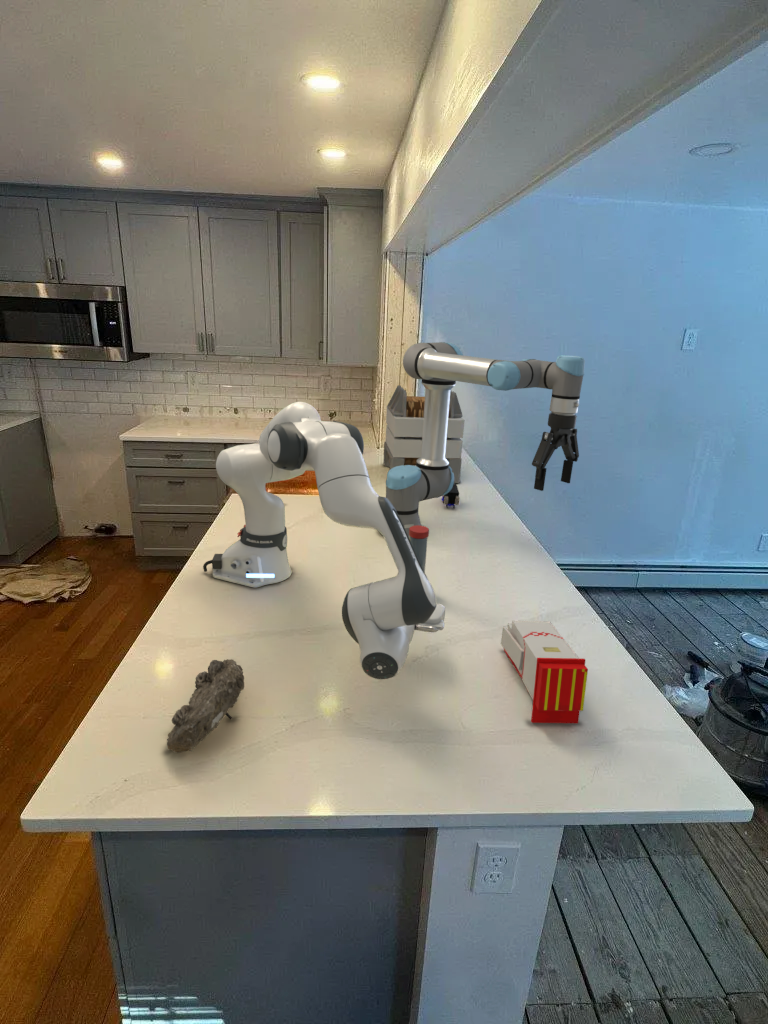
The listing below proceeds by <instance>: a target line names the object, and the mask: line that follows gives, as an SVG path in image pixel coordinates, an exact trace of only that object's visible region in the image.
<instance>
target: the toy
mask: <svg viewBox="0 0 768 1024" xmlns="http://www.w3.org/2000/svg"><path fill="white" fill-rule="evenodd" d="M500 645H501V646H502V648H503V652H504V654H505V655H506V657H507V658H508V660H509V661H510V663H511V664H512V666H513V668H514V669H515V671H516V672H517V674H518V676H519V677H520V679H521V680H522V683H523V685H524V686H525V688H526V690H527V692H528V694H529V696H530V697H531V699H532V708H531V719H530V722H531V723H532V724H579V719H580V712H583V711H584V706H585V697H586V689H587V680H588V671H589V669H588V667H587V666H586V659H585V658H580V657H579V656H578V655H577V654H576V652H575V651H574V650H573V648H572V647H571V646H570V645H569V644H568V642H567V641H566V640H565V638H564V637H563V636H562V634H561V633H560V632H559V631H558V630H557V628H556V627H555V626H554V624H553V623H552V622H551V621H549V620H548V621H545V620H540V621H539V620H511V622H508V623H507V626H502V632H501V638H500Z"/></svg>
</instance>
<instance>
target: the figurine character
mask: <svg viewBox="0 0 768 1024" xmlns="http://www.w3.org/2000/svg"><path fill="white" fill-rule="evenodd" d="M441 501H442V504H443V505H445V508H446V509H449V507H452V509H456V506H459V504H460V491H459V489H458V486H457V483H454V484H453V487H452V489H451V490H450V491H449V492H448V493H447V494H445V495H443V496H441Z"/></svg>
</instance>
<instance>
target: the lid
mask: <svg viewBox="0 0 768 1024" xmlns="http://www.w3.org/2000/svg"><path fill="white" fill-rule="evenodd" d="M409 536H411V537H413V538H417V539H423V538H427V537H428V538H429V536H430V529H429V528H428V526H424V525H422V526H419V525H416V526H411V527H410V528H409ZM428 538H427V539H428Z"/></svg>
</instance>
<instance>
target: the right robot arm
mask: <svg viewBox="0 0 768 1024" xmlns="http://www.w3.org/2000/svg"><path fill="white" fill-rule="evenodd" d="M585 365H586V360H585V358H584V357H582V356H578V355H566V354H565V355H564V354H563V355H558V356H557V357H556V360H555V361H549V360H541V359H536V358H524V359H521V360H506V359H505V360H504V359H503V360H502V359H496V358H487V357H479V356H471V355H464V354H463V352H462V350H461V349H460V347H459V346H457V345H456V344H455V343H451V342H445V341H443V342H442V341H441V342H440V341H439V342H438V341H437V342H417V343H414V344H412V345H411V346H409V347H408V348H407V350H406V351H405V353H404V355H403V358H402V366H403V369H404V372H405V373H406V374H407V375H408V376H409V377H411V378H412V379H415V380H421V385H422V386H423V387H424V389H425V392H424V397H425V404H424V419H423V434H422V449H421V457H420V458H418V459H417V461H416V466H413V465H401V466H396V467H394V468H392V469H390V468H389V470H388V472H387V474H386V479H385V497H386V498H387V499H388V500H389V501H390V502H391V503H392V505H393V506H394V508H395V510H396V512H397V513H398V516H399V518H400V520H401V522H402V524H403V526H404V528H405V530H406V533H407V535H408V537H409V540H410V536H409V528H410V527H411V526H416V525H419V526H423V525H422V524H421V518H420V515H419V507H420V506H419V505H420V502H423V501H427V500H431V499H437V498H440V497H441V498H442V496H443V495H445V494H447V493H448V492H449V491H450V490H451V489H452V487H453V484H454V473H452V469H451V467H450V466H449V462H448V461H447V459H446V458H445V453H446V441H447V428H448V416H449V404H450V392H451V391H452V389H453V388H454V387H455V386H456V384H457V382H461V383H465V384H473V385H479V386H487V387H491V388H492V389H494V390H496V391H503V392H504V391H511V390H520V389H532V388H533V389H534V388H539V389H546V390H551V398H550V404H549V413H548V418H547V419H548V420H547V426H548V427H549V428H550V431H549V432H548V431H543V432H542V435H541V440H540V442H539V445H538V447H537V449H536V452H535V454H534V457H533V460H532V461H531V466H533V467H535V475H534V477H535V478H534V485H533V489H534V490H537V491H539V492H543V491H544V489H545V484H546V483H545V482H546V476H547V468H546V466H547V465H548V463H549V461H550V459H551V457H552V456H553V454H554V453H555V451H556V450H557V449H558V448H560V447H561V449H562V452H563V455H564V458H565V459H563V463H562V468H561V469H562V470H561V475H560V482H562V483H566V484H571V478H572V472H573V466H574V463H576V462H578V461H579V457H580V453H579V444H578V428H576V423H577V419H578V416H577V414H578V412H579V411H578V410H579V406H580V397H581V391H582V385H583V380H584V376H585ZM379 534H380V535H381V536H383V535H382V534H381V533H380V532H379Z"/></svg>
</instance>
